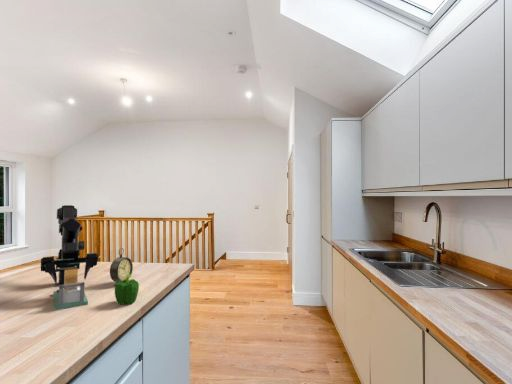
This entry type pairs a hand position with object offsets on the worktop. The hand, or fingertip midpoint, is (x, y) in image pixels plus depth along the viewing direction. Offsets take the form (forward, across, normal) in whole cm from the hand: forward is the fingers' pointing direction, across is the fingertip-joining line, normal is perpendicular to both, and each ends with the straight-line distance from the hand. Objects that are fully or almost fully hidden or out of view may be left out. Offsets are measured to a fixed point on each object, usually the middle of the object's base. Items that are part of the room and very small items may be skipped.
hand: (70, 280), depth 109 cm
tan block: (+7, 0, +2) cm, 7 cm away
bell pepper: (+15, +17, -4) cm, 23 cm away
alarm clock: (-4, +20, +16) cm, 26 cm away
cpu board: (+4, 0, +7) cm, 8 cm away
